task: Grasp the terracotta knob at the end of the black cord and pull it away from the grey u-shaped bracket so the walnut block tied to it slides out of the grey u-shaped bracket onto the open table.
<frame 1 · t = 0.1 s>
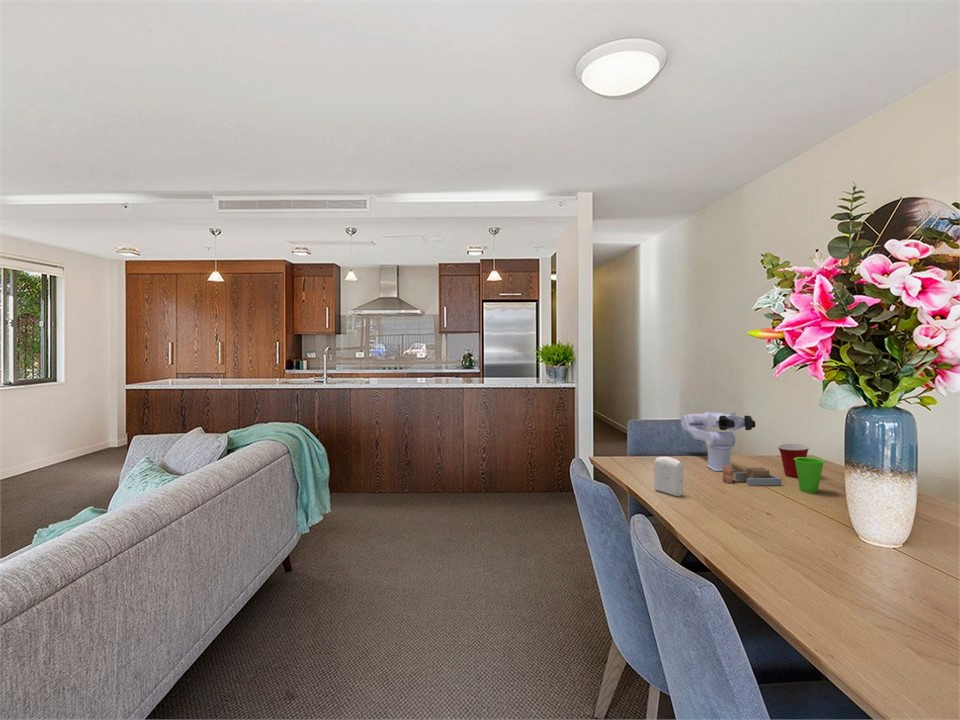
hand: (744, 424, 189), 22 cm above the table, tool horizontal, fingers open, 7 cm apart
photo printer: (668, 493, 177), on the table
grey u-shaped bracket: (756, 482, 189), on the table
cup: (808, 491, 177), on the table
plastic cup: (793, 476, 198), on the table
tethered block: (757, 482, 189), on the table
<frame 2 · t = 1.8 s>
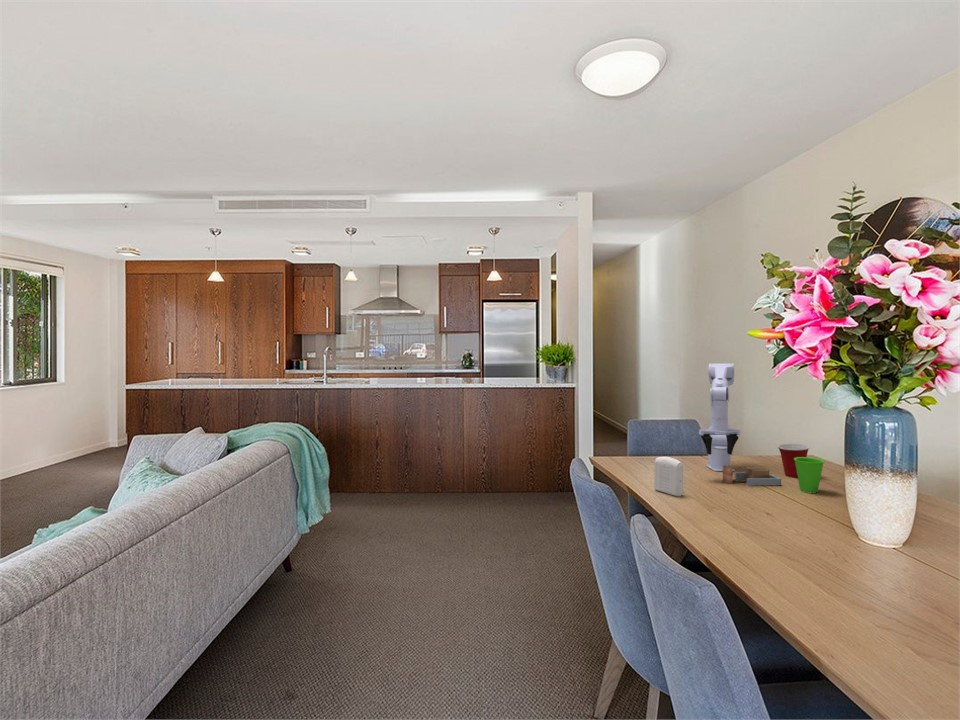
hand: (719, 454, 192), 10 cm above the table, tool pointing down, fingers open, 7 cm apart
nothing on the table moved.
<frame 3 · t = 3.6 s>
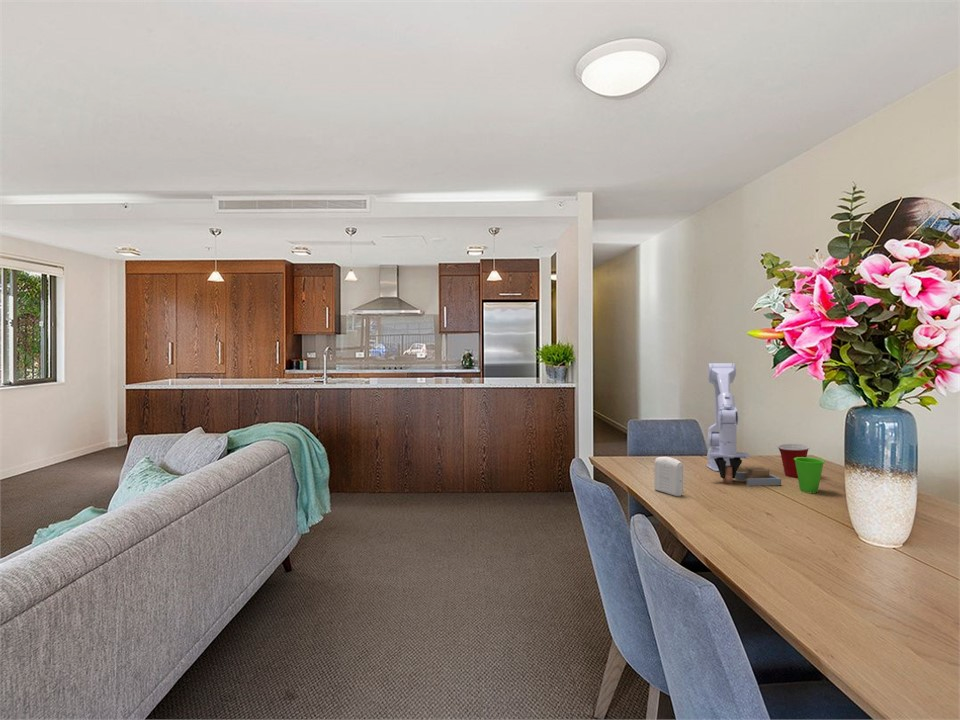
hand: (727, 477, 189), 2 cm above the table, tool pointing down, fingers closed on tethered block, 3 cm apart
tethered block: (757, 482, 189), on the table, touching gripper
everything else where it was.
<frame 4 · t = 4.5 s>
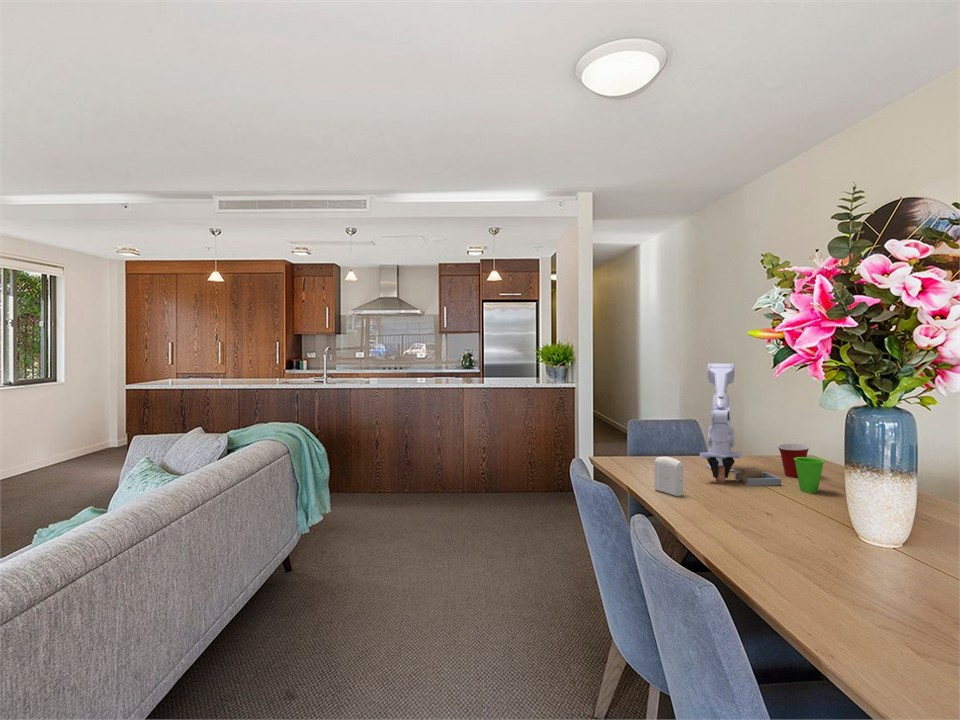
hand: (720, 477, 189), 2 cm above the table, tool pointing down, fingers closed on tethered block, 3 cm apart
tethered block: (750, 482, 189), on the table, touching gripper
everything else where it was.
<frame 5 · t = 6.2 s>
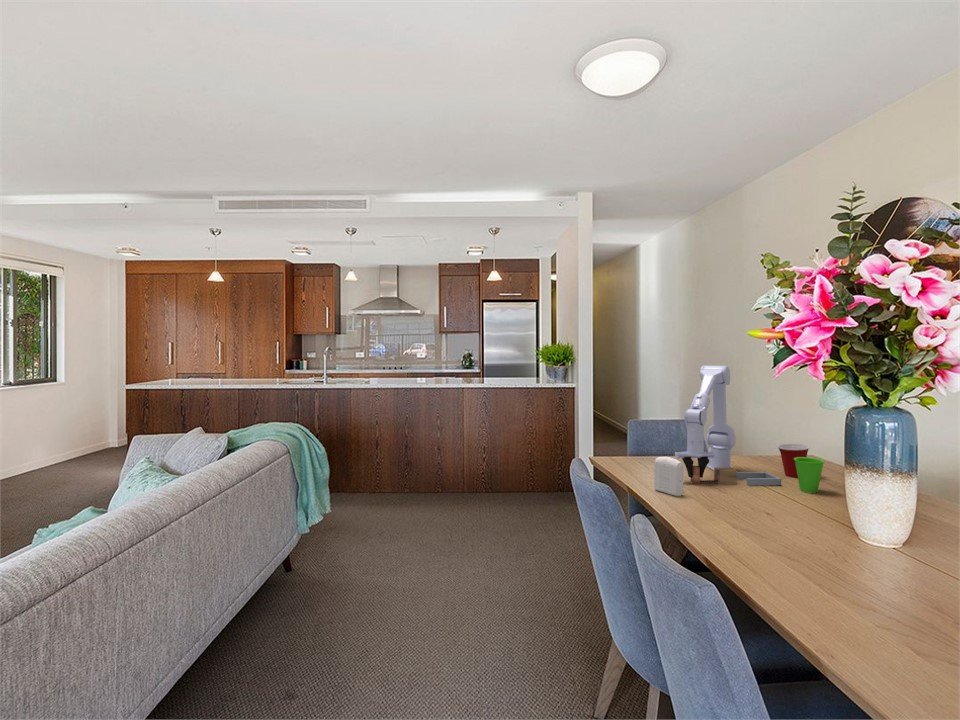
hand: (695, 477, 189), 2 cm above the table, tool pointing down, fingers closed on tethered block, 3 cm apart
tethered block: (725, 482, 189), on the table, touching gripper
everything else where it was.
when the fingers open (2 cm above the table, at t = 7.3 s): tethered block stays where it is, on the table.
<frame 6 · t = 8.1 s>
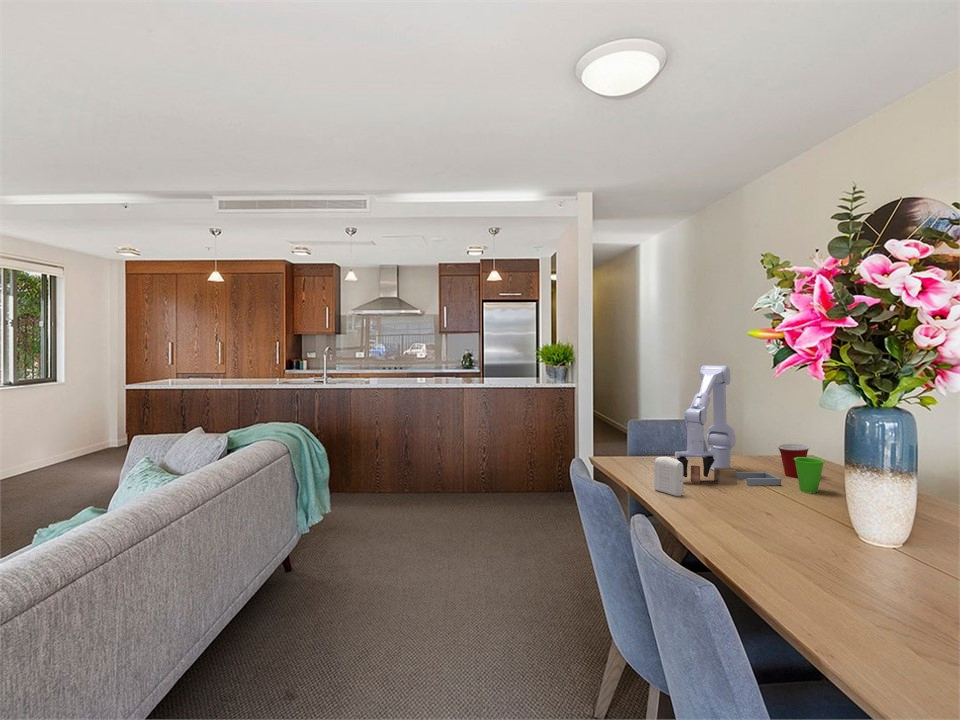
hand: (695, 476, 189), 2 cm above the table, tool pointing down, fingers open, 7 cm apart
tethered block: (725, 482, 189), on the table
everything else where it was.
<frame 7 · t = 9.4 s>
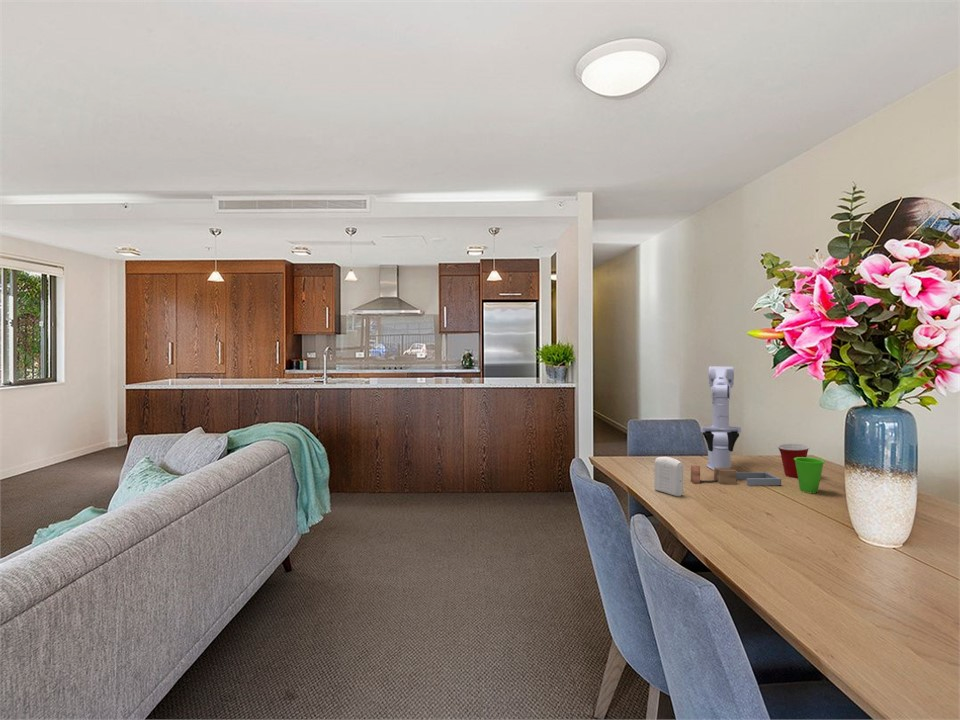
hand: (720, 450, 196), 10 cm above the table, tool pointing down, fingers open, 7 cm apart
nothing on the table moved.
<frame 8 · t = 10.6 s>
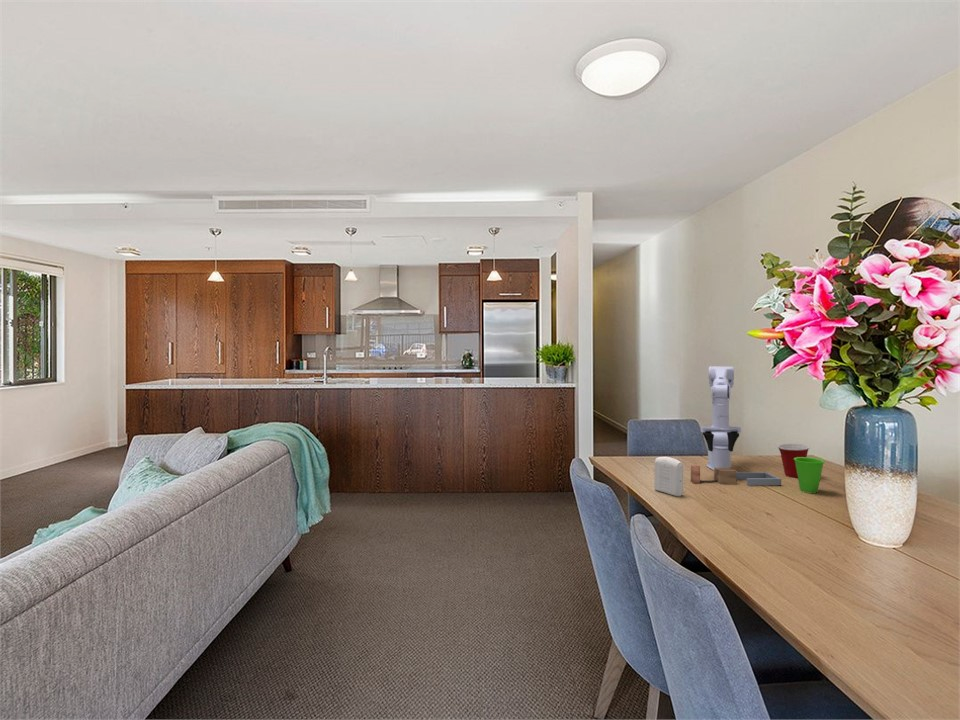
hand: (720, 450, 196), 10 cm above the table, tool pointing down, fingers open, 7 cm apart
nothing on the table moved.
at the end: tethered block inside the target area (2.0 cm from its centre), on the table; the gripper is holding nothing; tethered block tilted 0° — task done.
